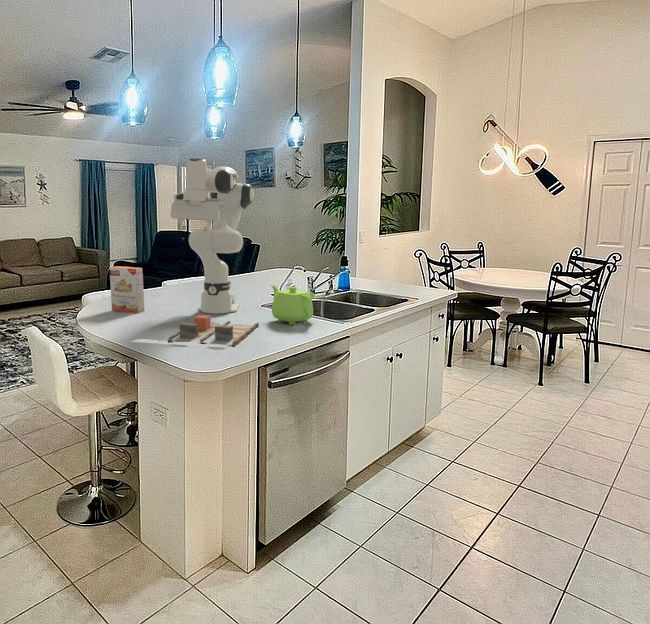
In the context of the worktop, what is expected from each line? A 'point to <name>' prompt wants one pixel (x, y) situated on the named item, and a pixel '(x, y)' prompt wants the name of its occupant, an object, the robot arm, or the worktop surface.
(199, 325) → the cube
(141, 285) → the cracker box
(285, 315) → the teapot
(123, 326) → the worktop surface
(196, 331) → the strip
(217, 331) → the strip
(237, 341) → the lane rails
